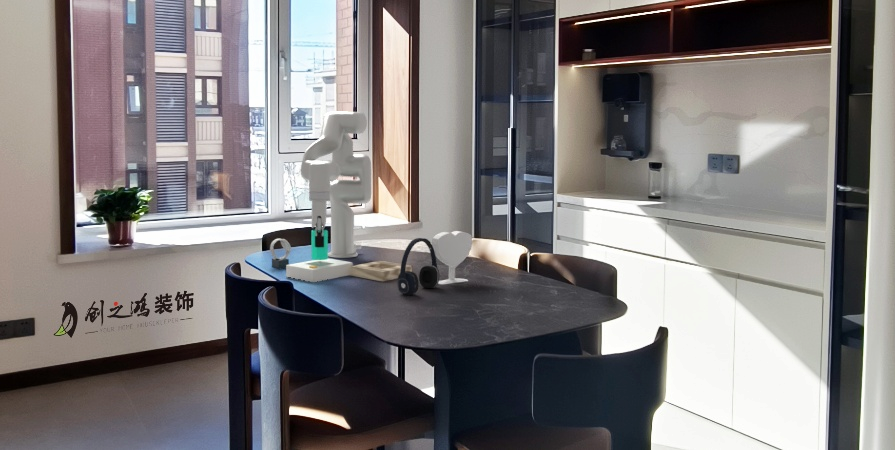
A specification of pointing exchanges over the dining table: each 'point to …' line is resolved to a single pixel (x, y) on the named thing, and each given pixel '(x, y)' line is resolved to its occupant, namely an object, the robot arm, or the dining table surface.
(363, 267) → the beige compartment tray
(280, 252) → the dining table surface
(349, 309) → the dining table surface
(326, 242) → the candle
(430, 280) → the headphones
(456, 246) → the heart sculpture
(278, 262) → the watch
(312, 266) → the port block
